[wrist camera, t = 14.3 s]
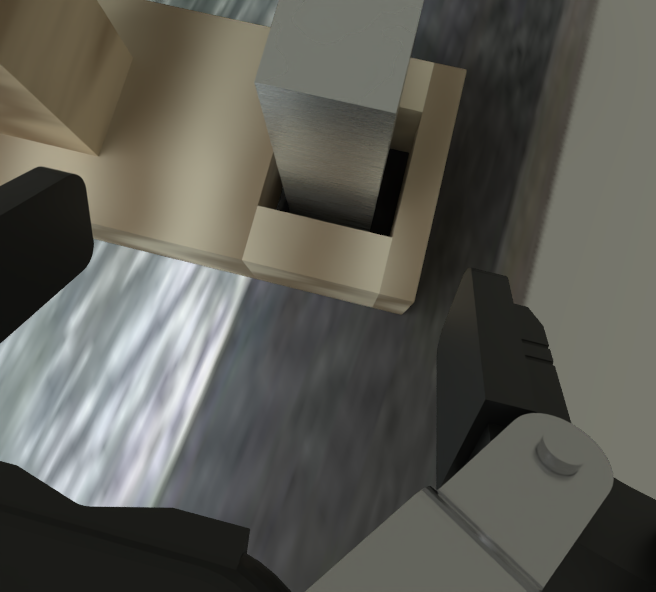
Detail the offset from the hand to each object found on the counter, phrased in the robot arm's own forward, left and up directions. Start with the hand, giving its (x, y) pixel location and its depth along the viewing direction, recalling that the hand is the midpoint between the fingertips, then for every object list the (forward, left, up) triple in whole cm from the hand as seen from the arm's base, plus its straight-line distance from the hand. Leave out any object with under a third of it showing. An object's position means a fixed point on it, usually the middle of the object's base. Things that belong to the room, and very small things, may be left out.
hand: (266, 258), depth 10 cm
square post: (-5, +5, -14) cm, 16 cm away
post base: (-9, +1, -14) cm, 17 cm away
